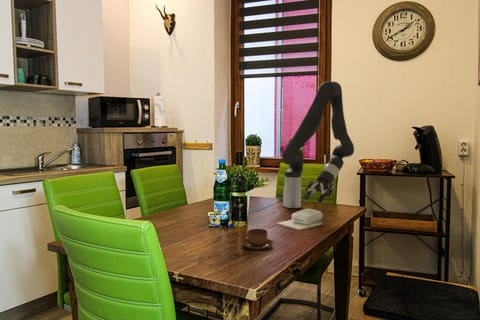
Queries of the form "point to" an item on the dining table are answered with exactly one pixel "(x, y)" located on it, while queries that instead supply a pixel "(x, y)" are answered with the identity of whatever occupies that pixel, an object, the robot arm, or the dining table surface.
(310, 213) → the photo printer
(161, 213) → the dining table surface
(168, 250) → the dining table surface
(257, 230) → the cup and saucer
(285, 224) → the pad
